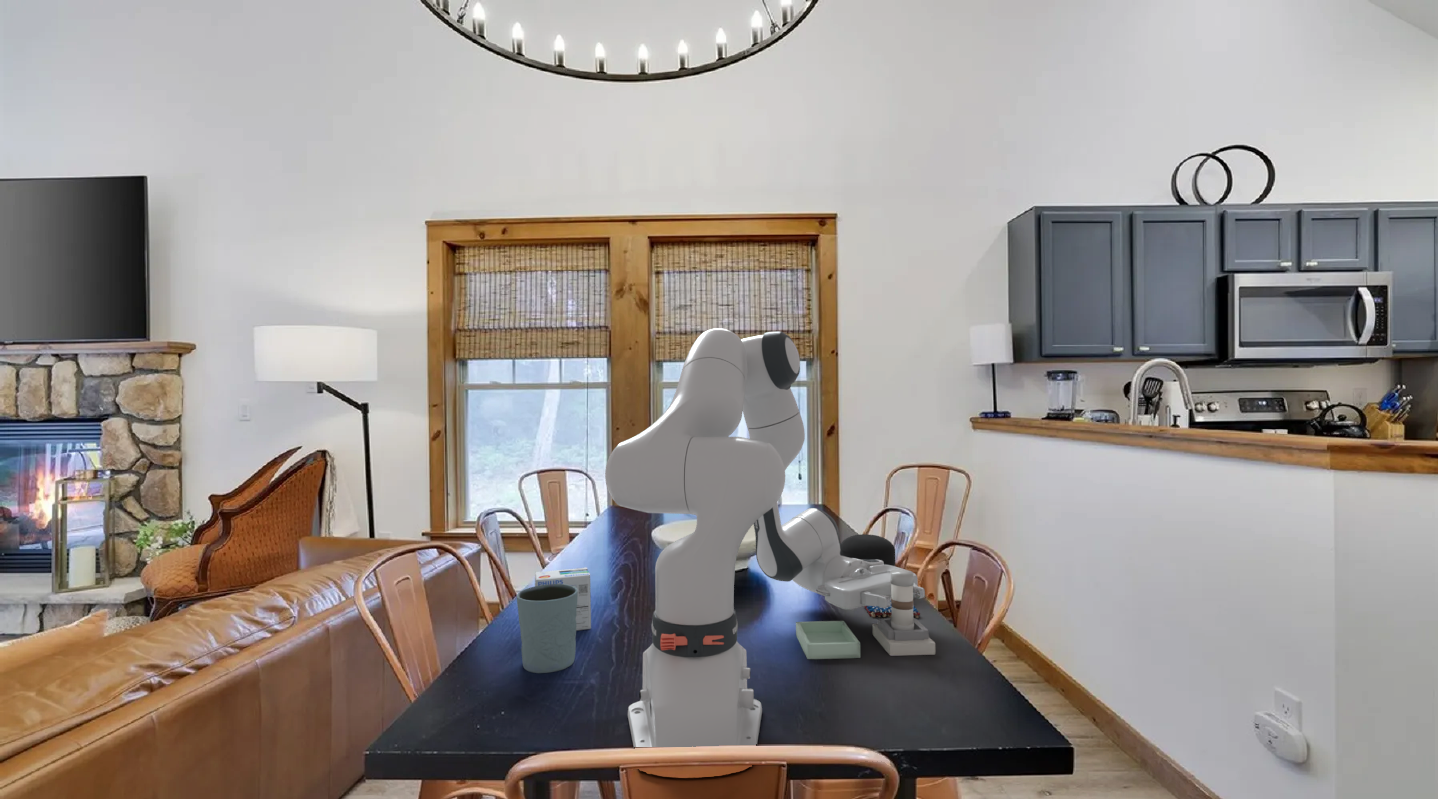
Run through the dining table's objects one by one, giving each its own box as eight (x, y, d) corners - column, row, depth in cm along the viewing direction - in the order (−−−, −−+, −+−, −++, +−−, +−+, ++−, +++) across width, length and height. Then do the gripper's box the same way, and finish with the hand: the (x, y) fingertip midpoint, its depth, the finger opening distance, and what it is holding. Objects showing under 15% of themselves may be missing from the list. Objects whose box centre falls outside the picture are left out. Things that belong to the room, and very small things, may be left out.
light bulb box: (588, 618, 124) (588, 566, 125) (591, 629, 118) (591, 574, 118) (534, 624, 121) (534, 570, 121) (535, 636, 115) (535, 579, 115)
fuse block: (935, 654, 105) (935, 634, 105) (890, 655, 104) (889, 635, 104) (913, 633, 115) (913, 614, 115) (872, 634, 114) (872, 615, 114)
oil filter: (860, 577, 154) (829, 587, 145) (859, 529, 154) (828, 536, 145) (906, 588, 144) (876, 599, 135) (905, 536, 145) (875, 545, 136)
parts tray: (860, 657, 103) (860, 643, 104) (807, 659, 103) (807, 644, 103) (843, 633, 115) (843, 620, 115) (795, 635, 114) (795, 621, 114)
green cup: (572, 674, 98) (572, 599, 98) (508, 676, 97) (509, 601, 97) (582, 649, 108) (582, 582, 108) (524, 651, 107) (524, 583, 107)
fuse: (917, 636, 108) (916, 575, 108) (895, 637, 107) (894, 575, 108) (909, 628, 112) (908, 569, 112) (888, 629, 111) (887, 569, 112)
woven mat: (921, 620, 123) (921, 610, 123) (869, 620, 124) (869, 610, 124) (908, 604, 134) (908, 595, 134) (859, 604, 134) (859, 594, 134)
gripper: (810, 572, 115) (865, 590, 103) (883, 558, 126) (940, 572, 115) (810, 606, 115) (865, 627, 103) (883, 588, 126) (940, 605, 115)
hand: (905, 598), depth 109 cm, fingers open, 8 cm apart
